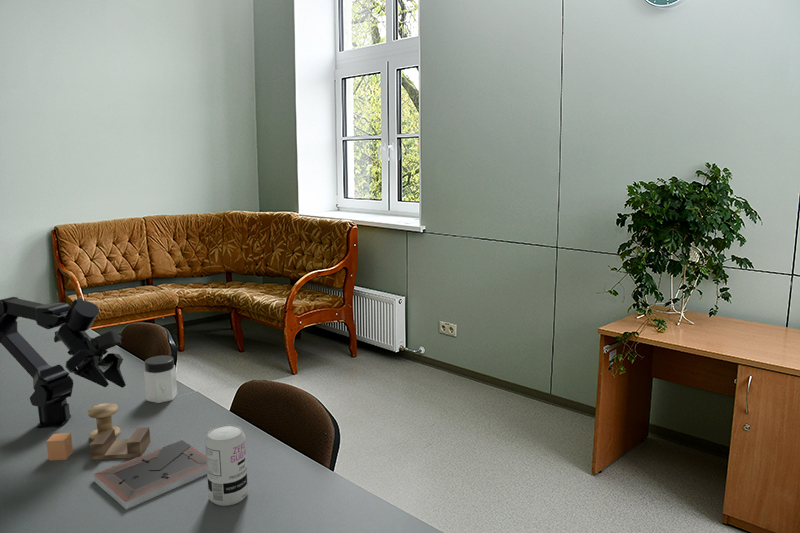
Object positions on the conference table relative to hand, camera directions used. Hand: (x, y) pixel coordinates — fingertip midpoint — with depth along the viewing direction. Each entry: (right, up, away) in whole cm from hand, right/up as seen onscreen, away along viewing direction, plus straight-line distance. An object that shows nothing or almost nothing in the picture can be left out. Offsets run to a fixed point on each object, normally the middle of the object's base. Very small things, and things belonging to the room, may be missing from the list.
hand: (115, 386), depth 155 cm
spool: (-5, -14, +4) cm, 15 cm away
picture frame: (+17, -18, -15) cm, 29 cm away
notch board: (+3, -15, -4) cm, 16 cm away
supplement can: (+36, -19, -24) cm, 47 cm away
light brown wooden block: (-10, -16, -6) cm, 20 cm away
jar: (+1, -9, +29) cm, 30 cm away
